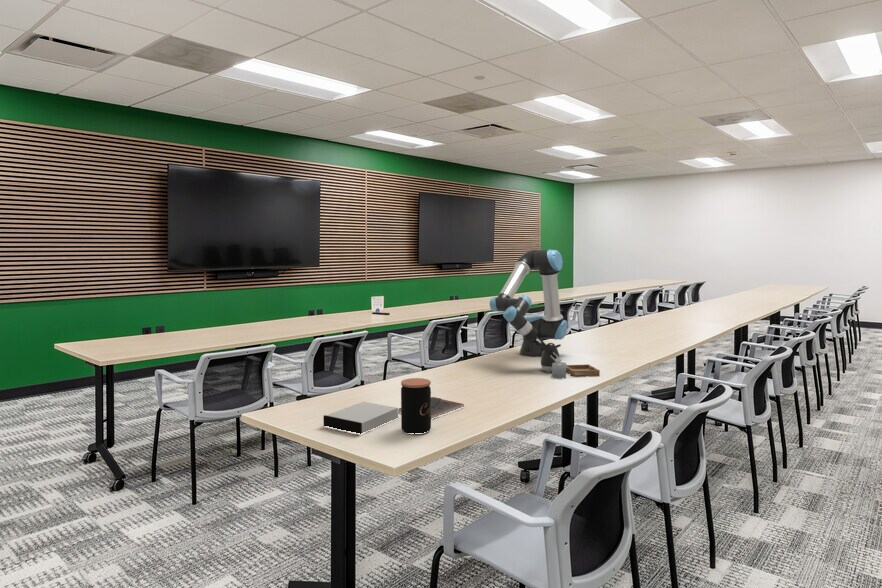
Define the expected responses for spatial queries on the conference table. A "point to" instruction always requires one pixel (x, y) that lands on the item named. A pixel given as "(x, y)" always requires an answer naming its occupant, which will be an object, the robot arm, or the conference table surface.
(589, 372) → the tray
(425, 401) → the coffee jar
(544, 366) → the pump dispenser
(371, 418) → the disc drive
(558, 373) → the grey round-ended cylinder
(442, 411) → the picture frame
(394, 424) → the conference table surface
